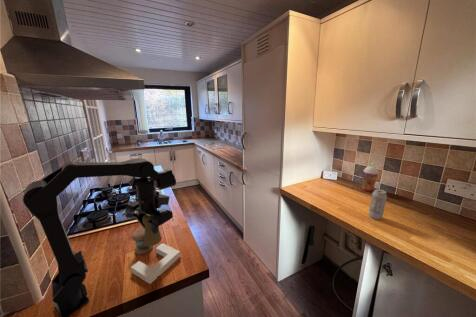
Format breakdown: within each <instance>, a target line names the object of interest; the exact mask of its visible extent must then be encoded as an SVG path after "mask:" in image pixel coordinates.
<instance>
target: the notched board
mask: <svg viewBox="0 0 476 317" xmlns="http://www.w3.org/2000/svg"><path fill="white" fill-rule="evenodd" d="M155 251H156V254H157V255H159V256H162V257H163V258H162V259H160V260H159V261H157V263H156V264H154V266H152V267H151V266H149V265H147V264H145V263H144V262H142V261H140V260H138V261H137V262H136V263H134V264H133V265H131V266H130V270H131V271H130V272H131V273H132V274H133V275H135V276H137V277H139V279H141V280H143V281H144V282H146V283H147V284H149V285H151V284H152V283H153V282H154V281H156V279H157V277H158V276H159V277H160V276H161V275H162V274H163V273H165V271H166V270H168V268H169V267H171V266H172V265H173V264H174V263H175V262H176V261H177V260H179V259H180V258H181V250H178V249H175V248H174V247H171V246H169V245H168V244H165V243H164V242H163V243H161V244H159V245H158V246H156V247H155ZM159 277H158V278H159Z"/></svg>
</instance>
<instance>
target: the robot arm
mask: <svg viewBox="0 0 476 317" xmlns="http://www.w3.org/2000/svg"><path fill="white" fill-rule="evenodd" d="M114 176H115V177H117V176H127V177H131V179H130V180H129V181H128V185H130V186H131V187H135V188H136V195H137V196H136V197H135V198H134V201H132V202H131V203H128V204H127V205H126V206H125V212H126V214H129V215H132V217H133V218H135V220H137V222H138V224H139V225H141V226H142V227H143V228H144V229H145V225H144V224H143V222H142V218H143V216H144V215H149V216H152V218H151V220H149V221H147V222H148V224H149V226H150V228H151V229H152V231H153V233H154V234H156V233H157V232H158V228H159V227H160V226H161V225H163V224H166V223H167V222H169V221H170V220H171V219H173V218H174V216H173V215H174V213H173V211H172V210H169V209H166V208H162V209H161V207H162V206H164V205H166V206H168V205H169V202H170V196H169V195H165V194H162V193H160V192H159V191H163V190H166V189H168V188H172V187H175V186H176V185H177V179H176V177H175V174H174V173H173V170H172V169H170V168H168V169H165V170H161V171H156V170H155V166H154V164H153V162H151V161H149V160H147V159H145V158H142V157H139V158H132V159H128V160H125V161H113V162H111V161H109V162H103V161H102V162H99V161H98V162H94V161H93V162H75V161H74V162H73V161H69V162H66V163H64V164H63V165H62V166H60V167H59V168H57V169H56V170H54V171H53V172H50V173H49V174H48V175H46V176H45V177H43V178H42V179H40V180H36V181H33V182H31V183H29V184H28V185H27V186H26V187H25V189H24V192H23V197H22V203H23V204H24V206H25V207H26V208H27V210H28V211H29V212H30V214H31V215H33V216H34V217H35V218H36V219H37V220H38V222H40V225H41V228H42V230H43V232H44V235H45V237H46V239H47V241H48V244H49V246H50V248H51V251H52V253H53V256H54V258H55V260H56V263H57V271H58V272H57V273H56V275H55V276H54V277H53V278H52V280H51V298H52V302H53V304H54V308H53V309H54V311H55V312H56V313H57V314H58V316H60V317H70V316H71V315H72V314H74V313H75V312H77V311H78V310H79V309H80V308H81V307H83V306H84V305H85V304H87V303H88V302H89V300H90V299H89V297H88V291H87V288H86V285H85V284H84V283H83V282H84V281H85V279H86V278H87V274H86V273H88V272H89V270H88V266H87V262H86V259H85V258H84V255H83V251H82V250H80V251H78V252H75V250H73V247H72V246H71V242H70V240H69V237H68V234H67V232H66V230H65V227H64V224H63V222H62V218H61V216H60V214H59V208H58V198H57V196H59V195H60V194H61V193H63V192H64V191H65V189H67V188H68V187H69V186H70V185H71V184H72V183H73V182H74V181H75V180H76V179H79V178H80V179H81V178H97V177H98V178H99V177H114ZM155 189H158V190H159V191H156V190H155ZM158 209H160V210H158ZM159 229H160V228H159Z"/></svg>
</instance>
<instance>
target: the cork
mask: <svg viewBox="0 0 476 317" xmlns="http://www.w3.org/2000/svg"><path fill="white" fill-rule="evenodd" d="M151 218H152V216H149V215H144V216H143V218H142V222H143V224H144V225H145V245H147V246H153V247H154V246H155V245H158V244H159V243H161V241H162V236H161V235H162V234H161V232H160V228H158V232H157V233H156V234H154V233H153V231H152V229H151V228H150V226H149V224H148V222H147V221H149V220H151Z"/></svg>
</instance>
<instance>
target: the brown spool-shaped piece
mask: <svg viewBox="0 0 476 317" xmlns="http://www.w3.org/2000/svg"><path fill="white" fill-rule="evenodd" d="M131 239H132V241H134V242H135V246H134V253H135V254H136V255H140V256H142V255H145V254H147V253H149V252H151V251H152V249H153V248H154V245H153V246H147V245H145V229H144V228H139V229H137V230H135V231H134V232H133V233H132V235H131Z"/></svg>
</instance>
